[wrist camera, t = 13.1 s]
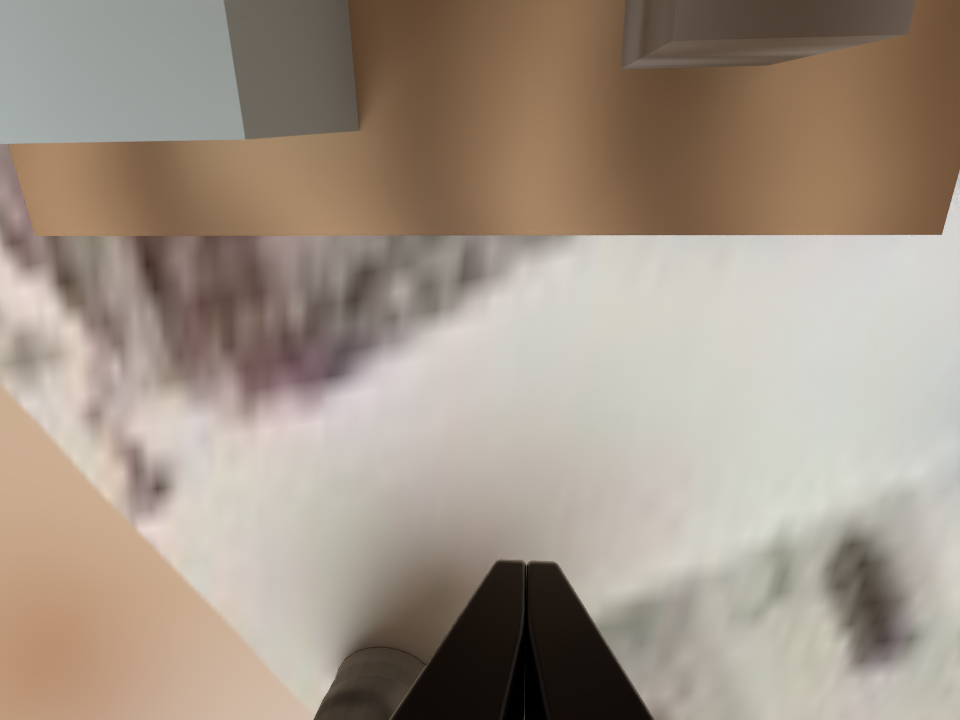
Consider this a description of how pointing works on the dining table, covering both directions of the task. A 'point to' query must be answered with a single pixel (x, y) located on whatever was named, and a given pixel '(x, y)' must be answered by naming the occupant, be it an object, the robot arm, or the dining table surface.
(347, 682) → the beverage cup
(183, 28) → the matte gray-blue cube
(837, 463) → the dining table surface
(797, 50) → the stand
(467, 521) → the dining table surface
